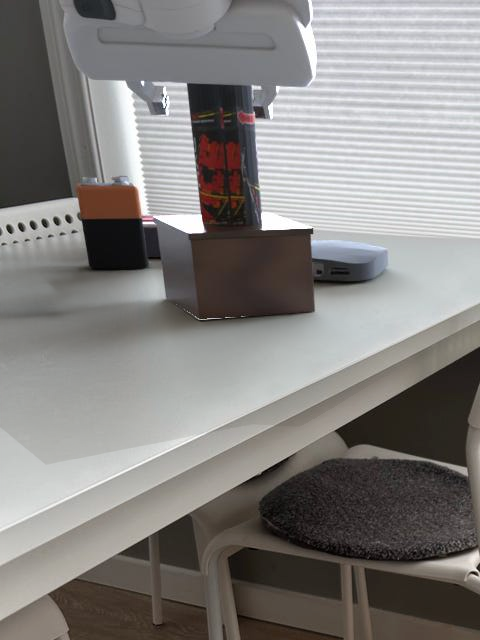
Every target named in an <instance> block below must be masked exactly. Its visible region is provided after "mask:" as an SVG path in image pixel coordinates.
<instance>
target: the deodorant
mask: <svg viewBox="0 0 480 640" xmlns="http://www.w3.org/2000/svg"><path fill="white" fill-rule="evenodd" d="M186 89H187V99H188V107H189V117H190V125H191V126H190V127H191V135H192V144H193V145H192V146H193V154H194V162H195V163H194V164H195V173H196V180H197V181H196V183H197V190H198V200H199V201H198V202H199V208H200V214H201V219H202V223H204V224H209V225H218V226H249V225H257V224H261V223H262V213H263V212H262V210H263V209H262V199H261V198H262V197H261V186H260V174H259V159H258V148H257V136H256V135H257V134H256V121H255V112H254V110H253V99H254V97H253V86H247V85H221V84H195V83H186Z"/></svg>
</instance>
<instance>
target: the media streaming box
mask: <svg viewBox="0 0 480 640" xmlns="http://www.w3.org/2000/svg"><path fill="white" fill-rule="evenodd" d="M311 248H312V266H313V281H324V282H325V281H326V282H348V283H349V282H361V281H366V280H371V279H374V278H376V277H378V276H379V275H380V274H382V273H383V272H384V271H385V270H386V269H387V268H388V266H389V258H388V257H389V255H388V253H389V252H388V248H386V247H382V246H375V245H372V244H370V243H362V242H357V241H349V240H340V239H339V240H338V239H336V240H335V239H318V240H311Z"/></svg>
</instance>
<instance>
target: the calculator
mask: <svg viewBox="0 0 480 640" xmlns="http://www.w3.org/2000/svg"><path fill="white" fill-rule="evenodd" d="M190 215H201V213H182V214H175V215H174V216H190ZM160 216H172V215H171V214H142V221H143V228H144V235H145V242H146V250H147V257H148V258H161V255H160V247H159V240H158V232H157V224H155V223H154V221H153V217H160Z"/></svg>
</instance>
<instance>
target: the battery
mask: <svg viewBox="0 0 480 640" xmlns="http://www.w3.org/2000/svg"><path fill="white" fill-rule="evenodd" d="M110 179H111V181H113V182H98V180H97V177H96V176H83V177H82V182H79V183H77V184H76V186H75V189H76V195H77V201H78V207H79V214H80V219H81V227H82V231H83V237H84V243H85V248H86V254H87V255H86V256H87V259H88V260H87V261H88V266H89V268H90V269H91V270H93V271H101V270H103V271H104V270H135V269H136V270H137V269H139V270H141V269H147V268H148V267H149V257H147V250H146V242H145V235H144V228H143V221H142V215H143V214H142V207H141V199H140V193H139V189H138V186H137V185H136V184H135V183H133V182H128V181H130V177H129V175H111V176H110Z"/></svg>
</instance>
